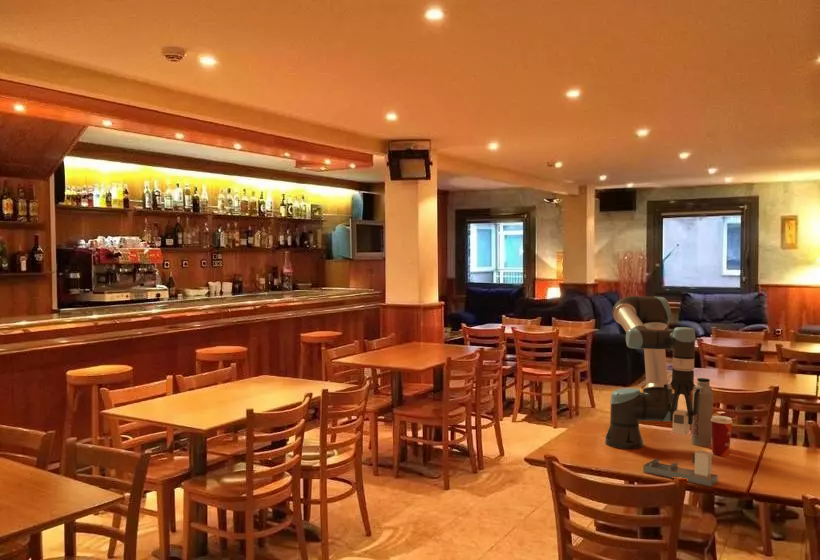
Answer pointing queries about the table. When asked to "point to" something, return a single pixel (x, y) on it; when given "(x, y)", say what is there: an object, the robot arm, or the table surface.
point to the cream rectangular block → (680, 421)
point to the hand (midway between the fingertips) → (681, 431)
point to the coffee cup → (721, 435)
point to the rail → (694, 476)
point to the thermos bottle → (703, 415)
